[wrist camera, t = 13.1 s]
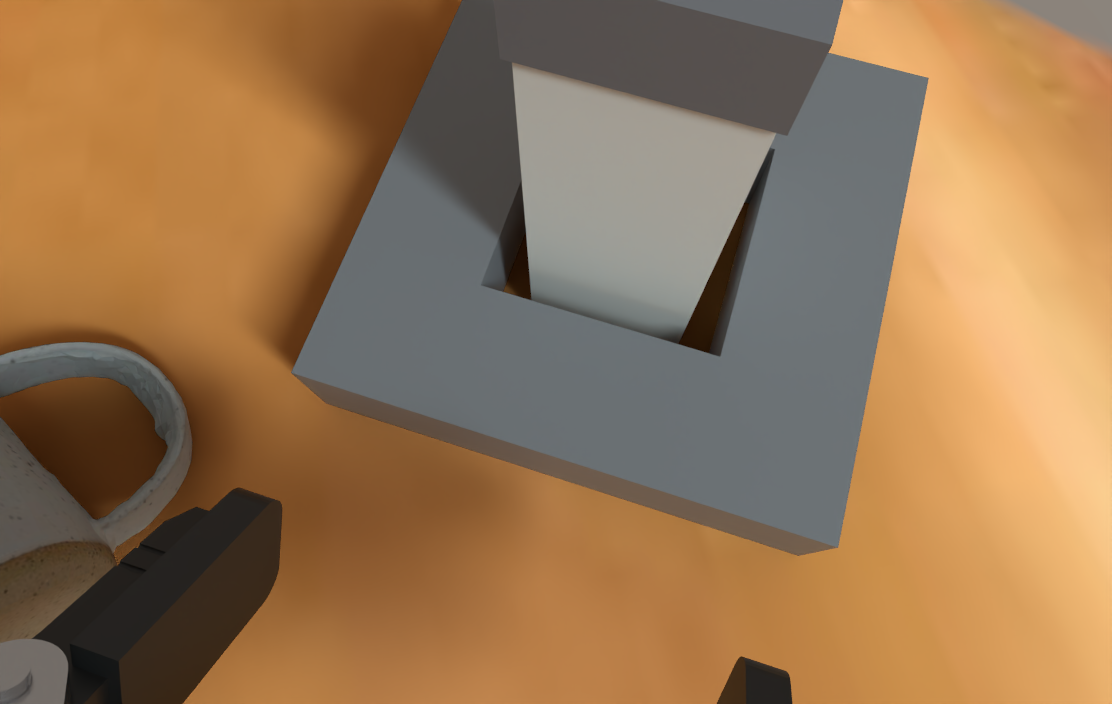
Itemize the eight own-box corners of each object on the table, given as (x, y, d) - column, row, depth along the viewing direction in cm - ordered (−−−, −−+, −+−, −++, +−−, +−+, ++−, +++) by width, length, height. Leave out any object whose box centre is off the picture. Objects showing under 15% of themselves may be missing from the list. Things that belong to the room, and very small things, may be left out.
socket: (326, 403, 22) (280, 362, 18) (487, 34, 26) (475, -58, 22) (798, 555, 20) (850, 545, 17) (885, 139, 24) (941, 58, 21)
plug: (526, 311, 23) (488, -42, 10) (573, 180, 24) (591, -266, 12) (678, 357, 22) (832, 44, 10) (717, 221, 24) (894, -200, 11)
